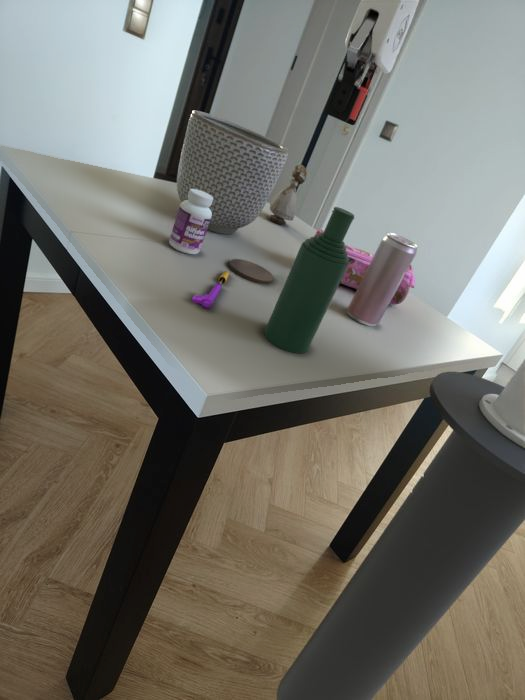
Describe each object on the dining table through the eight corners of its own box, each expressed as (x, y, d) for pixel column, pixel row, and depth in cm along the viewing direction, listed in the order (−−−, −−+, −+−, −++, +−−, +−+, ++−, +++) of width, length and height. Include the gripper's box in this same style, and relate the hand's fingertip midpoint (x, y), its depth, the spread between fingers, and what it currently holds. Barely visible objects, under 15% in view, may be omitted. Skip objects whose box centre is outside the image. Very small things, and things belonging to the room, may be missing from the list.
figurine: (263, 213, 132) (285, 156, 126) (286, 221, 134) (309, 166, 128) (268, 222, 125) (291, 162, 119) (293, 231, 127) (317, 172, 121)
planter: (145, 208, 97) (173, 104, 88) (188, 200, 114) (215, 113, 106) (235, 252, 94) (274, 150, 86) (266, 237, 112) (300, 151, 104)
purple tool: (210, 309, 68) (230, 276, 82) (210, 301, 67) (231, 269, 82) (190, 306, 68) (214, 273, 82) (191, 298, 67) (214, 266, 82)
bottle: (313, 344, 71) (373, 220, 63) (299, 358, 65) (363, 224, 57) (274, 323, 72) (328, 199, 64) (256, 335, 67) (313, 201, 59)
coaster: (279, 279, 90) (280, 276, 90) (262, 287, 83) (263, 284, 83) (241, 259, 92) (242, 256, 92) (221, 265, 85) (222, 262, 85)
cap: (328, 108, 65) (341, 77, 63) (326, 107, 68) (338, 77, 66) (356, 121, 65) (370, 90, 64) (352, 119, 69) (365, 90, 67)
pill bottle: (181, 255, 82) (199, 198, 78) (162, 240, 85) (178, 184, 81) (205, 255, 86) (224, 201, 82) (186, 241, 89) (203, 188, 85)
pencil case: (301, 277, 97) (320, 233, 93) (299, 262, 105) (316, 222, 101) (401, 315, 100) (424, 275, 96) (392, 298, 108) (412, 260, 104)
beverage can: (348, 306, 92) (387, 229, 85) (378, 321, 91) (420, 244, 85) (343, 315, 86) (384, 234, 80) (375, 331, 86) (419, 250, 79)
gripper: (432, -60, 51) (351, 125, 59) (441, -7, 66) (375, 135, 74) (366, -84, 52) (295, 100, 60) (389, -27, 67) (330, 115, 75)
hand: (340, 118), depth 67 cm, fingers closed on cap, 3 cm apart
